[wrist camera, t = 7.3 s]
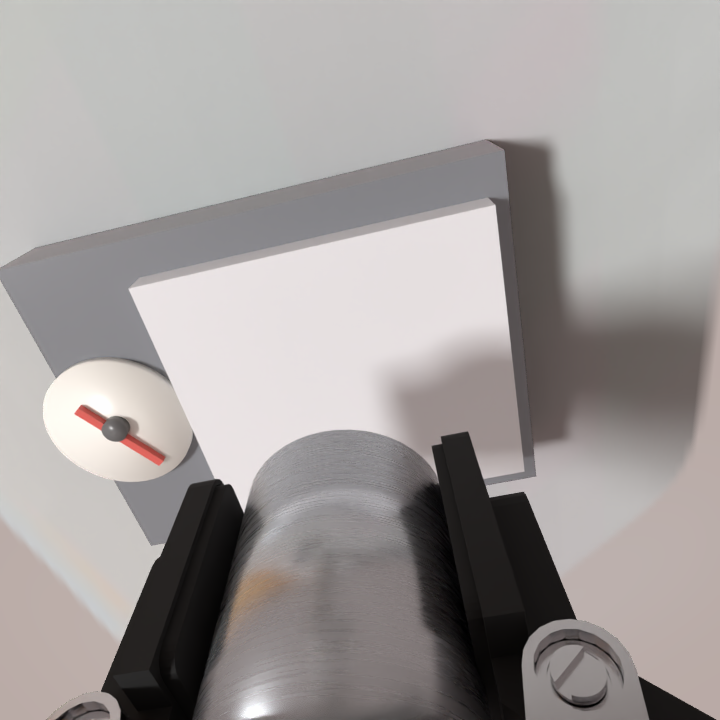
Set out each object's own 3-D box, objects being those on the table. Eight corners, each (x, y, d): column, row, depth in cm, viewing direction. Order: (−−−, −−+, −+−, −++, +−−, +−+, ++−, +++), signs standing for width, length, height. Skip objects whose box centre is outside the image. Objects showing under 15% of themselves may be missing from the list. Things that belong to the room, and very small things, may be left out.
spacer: (220, 451, 11) (122, 726, 6) (427, 411, 10) (483, 673, 6) (280, 592, 12) (238, 883, 8) (457, 562, 12) (518, 851, 7)
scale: (6, 254, 16) (-58, 289, 13) (486, 139, 15) (513, 154, 12) (145, 508, 20) (117, 568, 18) (519, 438, 19) (543, 493, 17)
